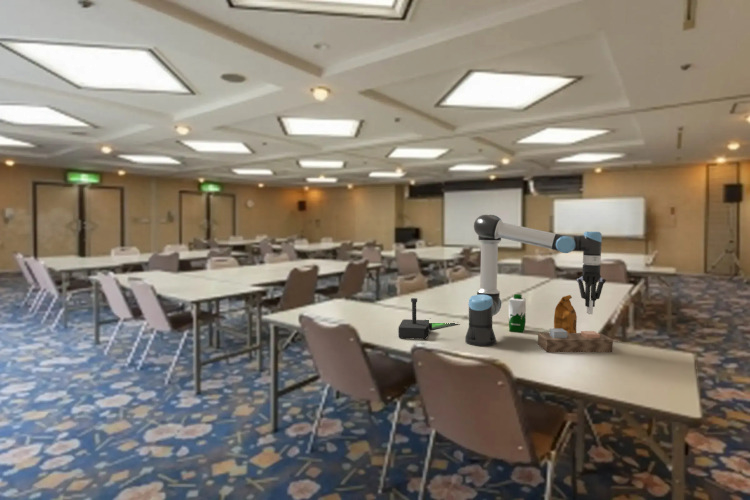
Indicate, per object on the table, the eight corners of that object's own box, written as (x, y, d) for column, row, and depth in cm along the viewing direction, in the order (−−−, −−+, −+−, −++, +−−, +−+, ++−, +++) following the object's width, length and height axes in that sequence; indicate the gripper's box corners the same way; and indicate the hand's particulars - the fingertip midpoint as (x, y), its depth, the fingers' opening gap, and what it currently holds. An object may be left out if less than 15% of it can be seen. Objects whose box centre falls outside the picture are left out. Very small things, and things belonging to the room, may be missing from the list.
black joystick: (429, 340, 218) (429, 302, 217) (398, 339, 222) (397, 301, 221) (432, 331, 237) (432, 296, 236) (403, 330, 240) (402, 295, 239)
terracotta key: (586, 344, 197) (586, 334, 197) (580, 341, 203) (581, 331, 203) (599, 344, 197) (599, 334, 196) (593, 341, 203) (593, 331, 202)
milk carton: (526, 329, 237) (526, 294, 236) (523, 333, 229) (524, 297, 228) (510, 328, 241) (510, 293, 240) (507, 331, 233) (507, 296, 232)
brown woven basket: (546, 352, 195) (546, 339, 195) (537, 344, 207) (537, 333, 206) (612, 352, 194) (612, 339, 193) (599, 345, 206) (600, 332, 205)
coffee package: (579, 336, 221) (580, 295, 219) (570, 341, 212) (570, 298, 211) (560, 333, 228) (561, 293, 227) (550, 337, 219) (551, 296, 218)
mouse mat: (437, 318, 271) (437, 316, 271) (462, 324, 253) (462, 322, 253) (404, 324, 255) (404, 322, 255) (429, 331, 237) (429, 329, 237)
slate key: (554, 342, 197) (554, 331, 197) (549, 338, 203) (549, 328, 203) (567, 342, 197) (567, 331, 197) (561, 338, 203) (562, 328, 203)
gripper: (581, 264, 194) (579, 315, 196) (609, 265, 193) (607, 315, 195) (574, 263, 201) (572, 311, 203) (601, 263, 201) (599, 312, 203)
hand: (589, 313), depth 199 cm, fingers closed
